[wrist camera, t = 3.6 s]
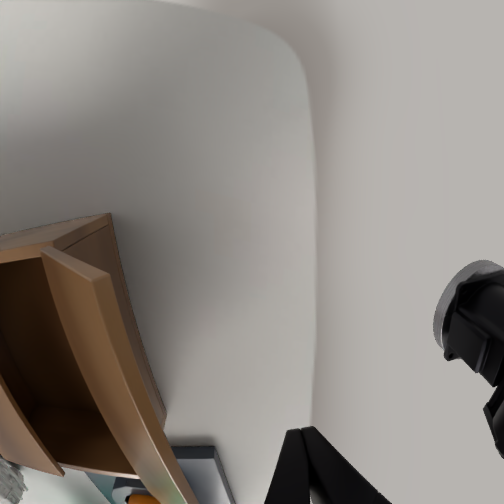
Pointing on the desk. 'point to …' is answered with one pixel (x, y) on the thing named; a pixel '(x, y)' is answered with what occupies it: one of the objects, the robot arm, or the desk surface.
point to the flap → (113, 372)
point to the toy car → (10, 484)
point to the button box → (194, 469)
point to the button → (142, 499)
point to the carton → (57, 356)
